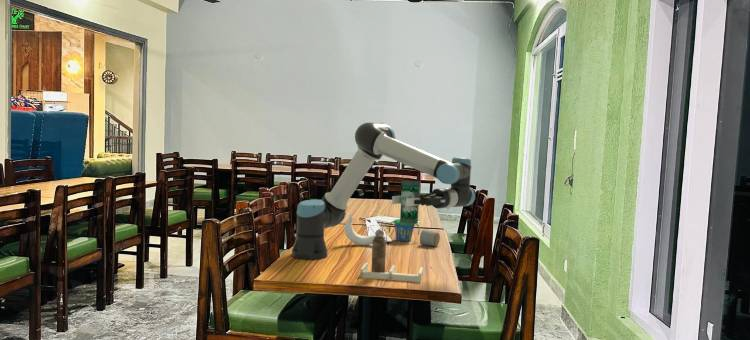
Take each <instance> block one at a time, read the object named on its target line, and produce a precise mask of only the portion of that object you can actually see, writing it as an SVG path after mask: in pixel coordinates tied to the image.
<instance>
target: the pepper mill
mask: <svg viewBox="0 0 750 340" xmlns="http://www.w3.org/2000/svg"><path fill="white" fill-rule="evenodd" d="M374 233H375V234H374V235H376V236H374V239H373V242H372V244H371V245H372V247H371V268H370V269H371V270H370V271H371V272H379V273H385V272H386V254H387V252H386V251H387V240H386V237H385V232H384V231H383V229H377V230H376V231H375V232H374ZM383 236H384V237H383Z"/></svg>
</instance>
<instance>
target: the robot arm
mask: <svg viewBox="0 0 750 340" xmlns="http://www.w3.org/2000/svg"><path fill="white" fill-rule="evenodd" d="M354 141H355V144H356V145H357V151H356V152H355V154H354V155H353V157H352V159H351V160H350V162H349V163H348V164H347V166H346V167H345V169H344V171H343V172H342V174H341V176H339V178H338V180H337V181H336V183H335V185H334V186H333V187H332V189H331V191H329V192H325V194H324V195H323V196H322V199H307V200H302V201H300V202H299V203H298V204H297V210H296V235H295V236H296V237H295V240H294V243H293V246H292V249H291V257H293V258H296V259H301V260H322V259H325V258H327V257H328V249H327V245H326V241H325V229H328V228H332V227H333V228H334V227H335V226H338V225H340V224H341V223H342V222H343V221H344V220H345V217H346V215H347V212H346V211H347V209H348V202H349V200H350V198H351V197H352V195H353V194H354V192H355V191H356V189H357V188H358V187H359V185H360V183H361V181H363V179H364V177H365V176H366V174H367V173H368V171H369V170H370V168H371V167H372V166H373V164H374V162H375V161H379V160H380V159H381V158H382V157H383V156H385V157H387V158H388V159H389V158H390V159H392V160H394V161H396V162H398V163H401V164H403V165H405V166H408V167H410V168H412V169H415V170H417V171H419V172H422V173H424V174H427V175H428V176H431V177H433V178H435V179H437V180H438V181H439V182H440V183H442V184H444V185H450V187H445V188H444V187H443V188H434V189H433V190H432V191H431V192H430V193H419V198H406V206H418V205H419V206H426V207H429V206H432V207H433V208H435V209H444V208H445V209H447V210H449V209H450V208H458V207H467V206H470V205H472V204H473V203H474V202H475V200H476V193H475V191H474V189H473V188H472V187H471V172H472V171H471V169H472V159H471V158H469V157H457V156H456V157H452V159H451V161H448V160H446V159H443V158H440V157H439V156H436V155H433V154H431V153H429V152H426V151H424V150H422V149H418V148H416V147H415V146H412V145H409V144H407V143H404V142H402V141H400V140H398V139H396V135H395V131H394V130H393V128H392V127H391V126H390V125H388V124H385V123H383V122H378V123H377V122H376V123H375V122H364V123H362V124H360V125H359V126H358V127H357V129H356V131H355V132H354ZM391 204H392V205H396V204H397V205H398V204H401V195H394V196H393V195H392V196H391ZM419 206H418V207H419Z"/></svg>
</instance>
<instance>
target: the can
mask: <svg viewBox="0 0 750 340" xmlns="http://www.w3.org/2000/svg"><path fill="white" fill-rule="evenodd" d="M400 190H401V195H400V196H401V203H400V213H399V214H400V215H399V217H400V218H399V219H400V222H401V223H407V224H415V223H417V224H418V222H419V207H420V205H418V206H406V198H419V194H420V181H418V180H401V189H400ZM415 225H416V224H415Z"/></svg>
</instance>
